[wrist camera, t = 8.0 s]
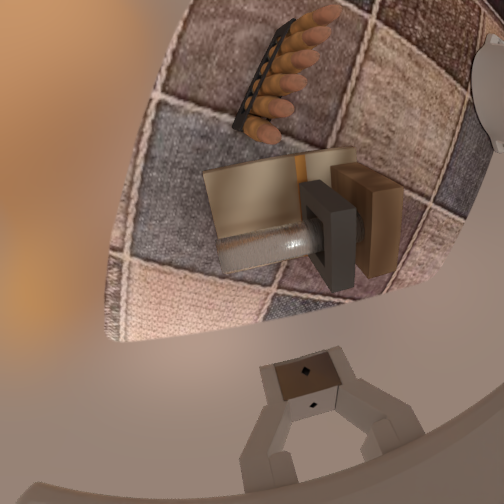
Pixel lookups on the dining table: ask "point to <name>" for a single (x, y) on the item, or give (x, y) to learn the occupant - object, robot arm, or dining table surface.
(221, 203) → the pipe stand
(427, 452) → the robot arm
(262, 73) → the ammunition clip
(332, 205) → the collar
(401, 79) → the dining table surface
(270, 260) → the steel pipe
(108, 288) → the dining table surface
